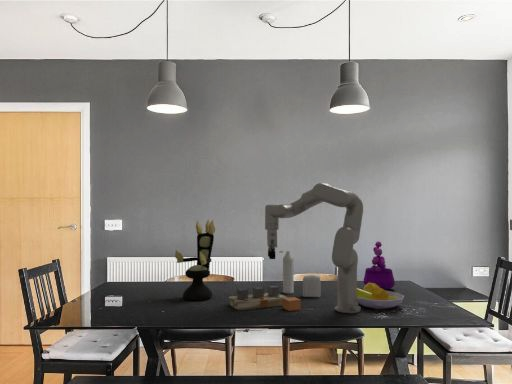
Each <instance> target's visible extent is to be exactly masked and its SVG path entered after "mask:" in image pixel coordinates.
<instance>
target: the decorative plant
mask: <svg viewBox="0 0 512 384" xmlns="http://www.w3.org/2000/svg"><path fill="white" fill-rule="evenodd" d="M381 247H382V242H381V241H375V247H373V249H372V250H373V253H374V255H375V256H373V257H372V260H371V263H372V265H371V266H370V267H367V268H365V272H364V277H363V285H364V286H365V285H366V284H368V283H369V282H370V283H375V284H376V285H378V286H379V287H380V288H382V289H384V290H385V291H388V290H390V289H392V288H394V287H395V284H396V282H395V281H396V280H395V277H394V273H393V269H391V268H387V266H386V261H385V257H384V256H382V254H383V250H382V248H381Z"/></svg>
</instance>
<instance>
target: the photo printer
mask: <svg viewBox="0 0 512 384" xmlns="http://www.w3.org/2000/svg"><path fill="white" fill-rule="evenodd" d="M321 283H322V282H321V277H320V276H318V275H315V274H308V275H303V278H302V297H304V298H321V293H322V292H321V289H322V288H321V287H322V285H321Z"/></svg>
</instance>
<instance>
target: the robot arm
mask: <svg viewBox="0 0 512 384" xmlns="http://www.w3.org/2000/svg"><path fill="white" fill-rule="evenodd" d="M322 203H327V204H330V205H332V206H334V207H338V208H345V209H346V210H345V214H344V221H343V226H342V227H340V228H339V229H337V231H336V233H335V235H334V239H333V244H332V245H333V246H332V251H331V252H332V253H331V260H332V264H334V265H333V266H335V267H336V268H337V305H336V306H334V311H336V312H337V313H342V314H358V313H360V312H361V306H359V303H357V288H358V265H359V264H358V262H359V261H358V260H359V257H358V253H357V251H356V250H355V249H354V244H357V242H359V239H360V236H361V228H362V220H363V215H364V205H363V204H364V203H363V200H362V199H361V198H360V196H359V195H358V194H356V193H355V192H353V191H351V190H345V189H339V188H338V187H334V186H333V185H331V184H330V183H326V182H318V183H316V184H315V185H313V187H312V188H311V189H309V190H308V191H305V192H303V193H302V194H301V196H300V198H298V199H297V200H295V201H292V202H291V203H287V204H267V205H265V206H264V209H265V210H264V226H265V227H264V230H266V245H267V248H268V249H267V257H269V260H276V248H278V230H279V228H280V227H279V224H280V223H279V221H280V219H290V218H293V217H294V218H295V217H296V216H298V215H300V214H302V213H304V212H306V211H308V210H309V209H311V208H313V207H315V206H317V205H319V204H320V205H321V204H322Z"/></svg>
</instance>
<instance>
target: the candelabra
mask: <svg viewBox="0 0 512 384" xmlns="http://www.w3.org/2000/svg"><path fill="white" fill-rule="evenodd" d="M195 229H196V234H197V236H196V248H197V251H196V255H197V256H193V257H185V258H184V257H183V254H182V253H181V252H180V251H178V250H177V249H175V257H174V258H175V260H176V263H177V264H179V263H188V262H195V261H196V265H192V266H189V268H188V269H186V271H185V276H186V277H187V278H188V279H192V281H191V282H192V283H191V284H190V285H189V286H188V287H187V288H185V290H184V292H182V293H183V294H182V298H183V299H184V300H186V301H191V302H192V301H193V302H195V301H196V302H197V301H199V302H200V301H205V300H210V299H211V298H212V297H213V292H212V290H211V289H210V288H209V287H208V286H207V285H206V284H205V283H204V280H203V279H205V278H208V277H209V276H210V274H211V271H210V264H211V262H212V258H211V255H212V252H213V250H212V249H213V246H214V240H215V239H214V238H215V236H214V234H215V232H216V227H215V223H214V220H213V219H212V220H211V222H210V219H209V218H208V219H207V221H206V223H205V232H203V227H202V226H201V224H200V222H199V220H198V219H197V220H196V224H195Z"/></svg>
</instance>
